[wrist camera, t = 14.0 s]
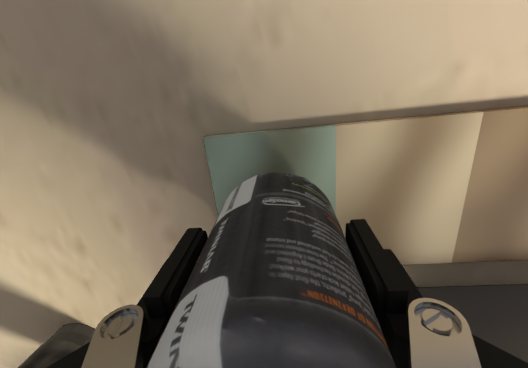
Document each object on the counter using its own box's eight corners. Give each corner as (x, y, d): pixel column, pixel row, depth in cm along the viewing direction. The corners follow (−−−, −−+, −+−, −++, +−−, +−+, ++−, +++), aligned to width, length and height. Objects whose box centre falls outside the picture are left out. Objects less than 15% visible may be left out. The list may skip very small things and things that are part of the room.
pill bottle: (203, 192, 13) (-140, 655, 2) (313, 151, 12) (573, 719, 1) (249, 278, 15) (168, 747, 4) (347, 250, 14) (565, 806, 3)
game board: (631, 95, 12) (649, 96, 11) (567, 251, 15) (578, 258, 15) (206, 135, 14) (203, 138, 13) (230, 265, 17) (228, 271, 17)
